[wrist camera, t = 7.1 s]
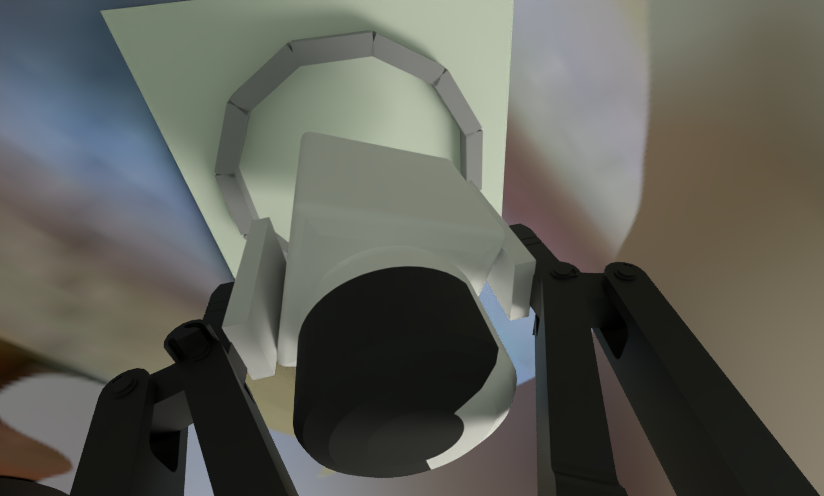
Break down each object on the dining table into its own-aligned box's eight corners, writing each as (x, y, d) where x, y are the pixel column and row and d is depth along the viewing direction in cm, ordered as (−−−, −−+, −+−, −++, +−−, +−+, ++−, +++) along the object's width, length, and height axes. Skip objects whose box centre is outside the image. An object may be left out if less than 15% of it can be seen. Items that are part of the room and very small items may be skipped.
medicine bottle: (287, 259, 20) (258, 520, 10) (302, 127, 16) (277, 336, 6) (413, 270, 22) (488, 491, 12) (451, 157, 18) (601, 344, 9)
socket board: (255, 307, 28) (251, 328, 26) (110, 9, 17) (85, 12, 15) (493, 257, 30) (504, 273, 28) (507, -37, 19) (527, -40, 17)
